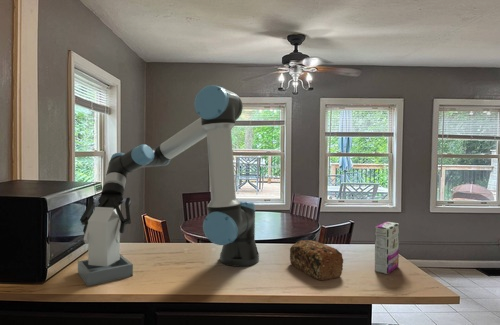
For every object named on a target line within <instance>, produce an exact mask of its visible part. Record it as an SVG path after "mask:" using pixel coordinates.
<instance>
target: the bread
mask: <svg viewBox="0 0 500 325" xmlns="http://www.w3.org/2000/svg"><path fill="white" fill-rule="evenodd" d="M289 261H290V262H289V263H290V265H291V266H293V267H295V268H296V269H298V270H300V271H301V272H304V273H305V274H306V275H308V276H309V277H312V278H313V279H317V281H328V280H331V279H333V280H334V279H339V278H340V277H341V276H342V273H343V267H344V266H343V263H344V258H343V254H342V252H340V251H339V249H337V248H335V247H332V246H331V245H327V244H325V243H321V242H318V241H315V240H312V239H310V240H309V239H305V240H303V239H301V240H298V241H297V242H295V243H294V244H292V245H291V246H290V248H289Z"/></svg>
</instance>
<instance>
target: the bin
mask: <svg viewBox="0 0 500 325" xmlns="http://www.w3.org/2000/svg"><path fill="white" fill-rule="evenodd" d="M133 265H134V264H133V263H132V262H130V260H128V259H127V258H126V257H125V256H124V255H122V254H121V253H120V260H118V261H116V262H115V263H113V264H111V265H109V266H107V267H104V266H94V265H88V259H83V260H78V261H77V274H78V275H79V276H80V278H81V279H82V281H83V282H84V284H85V285H86V286H87V287H91V286H95V285H99V284H103V283H109V282H113V281H117V280H122V279H125V278H130V277H133V276H134V271H133V269H134V266H133Z"/></svg>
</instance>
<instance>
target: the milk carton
mask: <svg viewBox="0 0 500 325" xmlns="http://www.w3.org/2000/svg"><path fill="white" fill-rule="evenodd" d="M114 210H115V209H114V208H107V207H98V206H95V207H94V209H93V211H92V213H93V214H92V213H91V214H92V215H91V217H90V218H89V220H88V244H87V245H88V247H87V252H88V254H87V255H88V256H87V257H88V259H87V260H88V265H94V266H104V267H107V266H109V265H111V264H113V263H115V262H116V261H118V260H120V254H121V253H120V251H121V250H120V249H121V248H120V247H121V245H120V242H121V240H120V239H119V243H116V241H115V236H116V231H117V226H118V222H121V221H120V218H119V216H118V214H117V212H116V211H114Z"/></svg>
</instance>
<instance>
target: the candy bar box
mask: <svg viewBox="0 0 500 325" xmlns="http://www.w3.org/2000/svg"><path fill="white" fill-rule="evenodd" d="M374 228H375V229H374V272H376V273H380V274H385V275H389V274H391V273H392V272H393V271H395V270H396V268H398V267H399V256H400V255H399V252H400V251H399V250H400V249H399V248H400V247H399V246H400V245H399V244H400V243H399V242H400V239H399V238H400V229H399V228H400V223H398V222H393V221H385V222H383V223H382V222H381V224H378V225H376V226H374Z"/></svg>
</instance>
